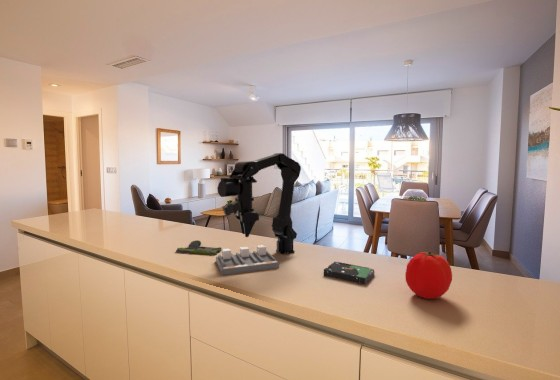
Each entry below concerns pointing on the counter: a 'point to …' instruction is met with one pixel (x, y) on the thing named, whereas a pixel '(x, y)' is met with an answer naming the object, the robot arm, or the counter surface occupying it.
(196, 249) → the gun
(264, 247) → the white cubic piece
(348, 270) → the disk drive
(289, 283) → the counter surface
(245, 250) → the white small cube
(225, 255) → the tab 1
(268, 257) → the switch bank
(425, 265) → the tomato
